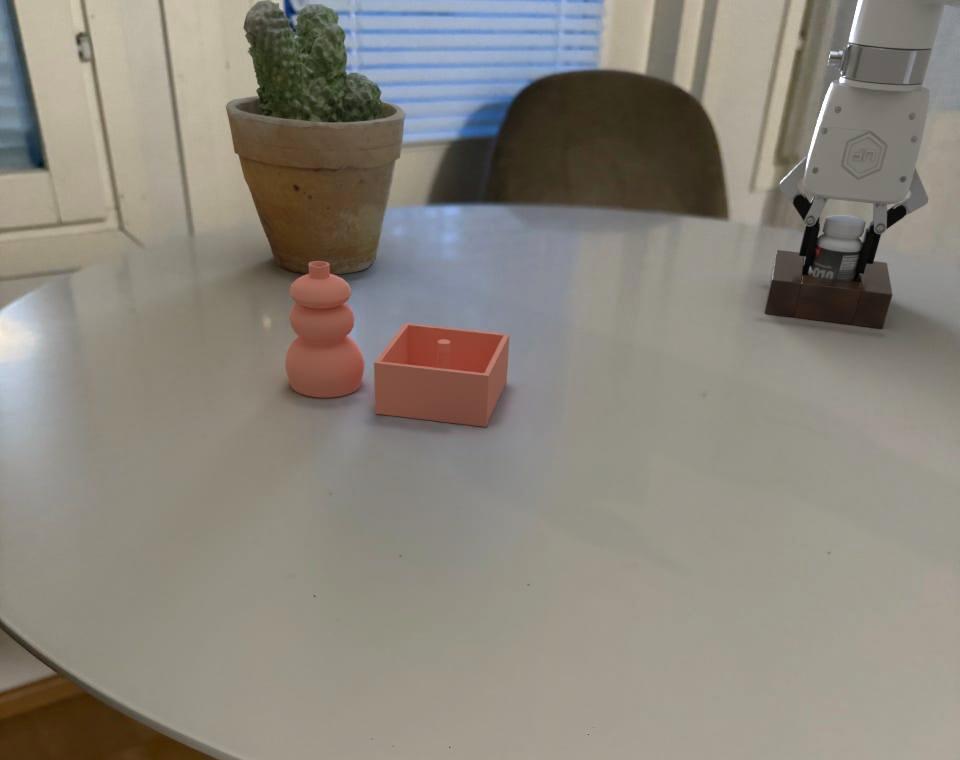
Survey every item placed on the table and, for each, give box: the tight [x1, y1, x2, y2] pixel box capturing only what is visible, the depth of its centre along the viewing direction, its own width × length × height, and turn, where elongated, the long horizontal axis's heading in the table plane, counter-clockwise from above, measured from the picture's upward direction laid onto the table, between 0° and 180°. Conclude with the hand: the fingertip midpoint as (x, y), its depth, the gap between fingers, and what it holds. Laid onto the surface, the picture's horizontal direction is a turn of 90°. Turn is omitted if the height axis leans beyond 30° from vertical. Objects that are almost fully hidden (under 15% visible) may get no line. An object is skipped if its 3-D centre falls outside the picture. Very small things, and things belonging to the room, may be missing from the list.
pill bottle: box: [808, 214, 867, 281], centre depth 101 cm, size 5×5×8 cm
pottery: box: [284, 261, 510, 428], centre depth 77 cm, size 18×10×10 cm, turn 79°
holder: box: [764, 249, 893, 329], centre depth 103 cm, size 12×12×4 cm
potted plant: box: [225, 0, 407, 276], centre depth 101 cm, size 18×19×25 cm
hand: (833, 265), depth 101 cm, fingers closed on pill bottle, 4 cm apart
